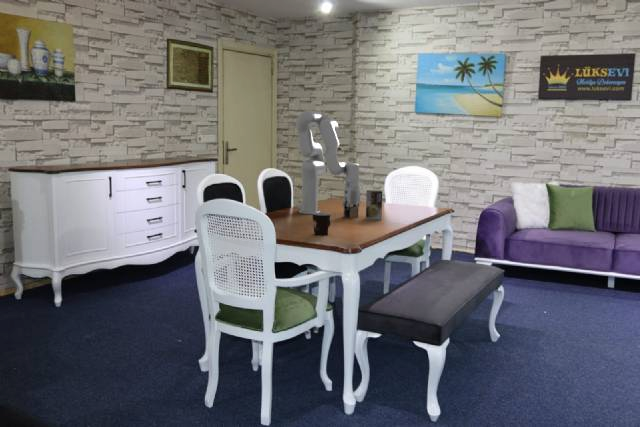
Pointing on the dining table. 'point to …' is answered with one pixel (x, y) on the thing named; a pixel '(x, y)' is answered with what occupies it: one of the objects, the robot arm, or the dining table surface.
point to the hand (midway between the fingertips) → (350, 215)
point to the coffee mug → (321, 223)
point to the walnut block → (352, 212)
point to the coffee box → (374, 204)
